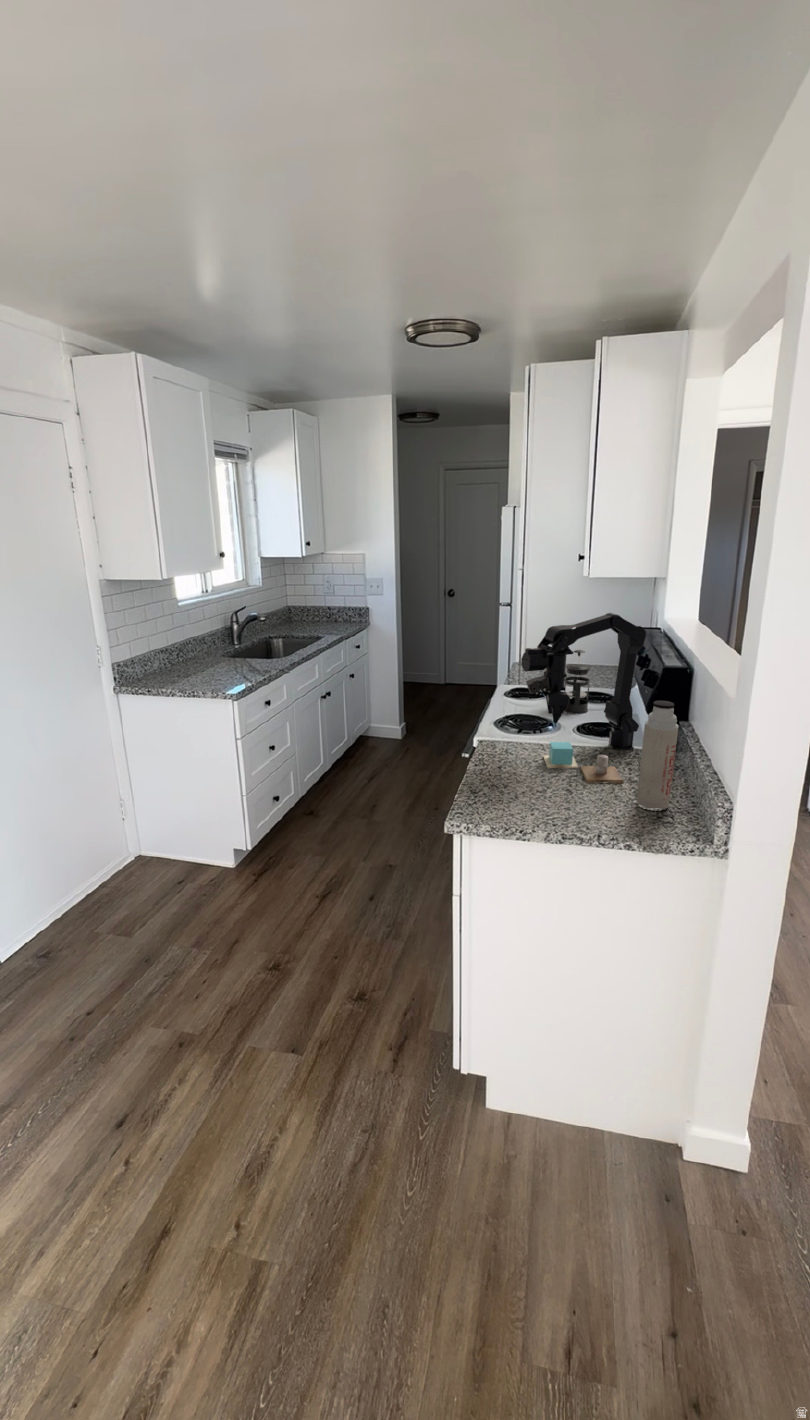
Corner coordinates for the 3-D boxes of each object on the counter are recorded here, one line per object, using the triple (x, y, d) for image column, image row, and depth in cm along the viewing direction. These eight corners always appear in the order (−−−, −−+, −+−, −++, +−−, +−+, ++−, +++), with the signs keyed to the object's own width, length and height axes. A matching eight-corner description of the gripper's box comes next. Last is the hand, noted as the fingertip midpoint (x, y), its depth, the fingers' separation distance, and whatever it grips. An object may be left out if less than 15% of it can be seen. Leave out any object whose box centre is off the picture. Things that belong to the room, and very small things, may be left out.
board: (572, 757, 207) (572, 755, 207) (578, 768, 199) (578, 766, 198) (543, 756, 208) (543, 755, 207) (547, 767, 199) (547, 766, 199)
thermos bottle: (675, 807, 173) (688, 704, 164) (653, 814, 169) (665, 709, 161) (651, 796, 180) (663, 696, 171) (629, 802, 176) (640, 700, 168)
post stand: (614, 769, 198) (616, 750, 196) (623, 783, 188) (625, 763, 186) (580, 769, 198) (581, 750, 196) (587, 782, 189) (588, 762, 187)
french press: (588, 706, 257) (592, 648, 251) (591, 714, 249) (596, 653, 242) (556, 705, 259) (560, 647, 252) (558, 713, 250) (562, 652, 243)
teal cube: (568, 757, 206) (569, 742, 204) (572, 764, 200) (573, 748, 198) (548, 757, 206) (549, 741, 204) (551, 764, 200) (552, 748, 199)
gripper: (524, 661, 211) (522, 709, 215) (533, 676, 193) (530, 727, 197) (560, 661, 210) (557, 709, 215) (572, 676, 192) (568, 728, 197)
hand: (552, 718), depth 206 cm, fingers open, 9 cm apart
